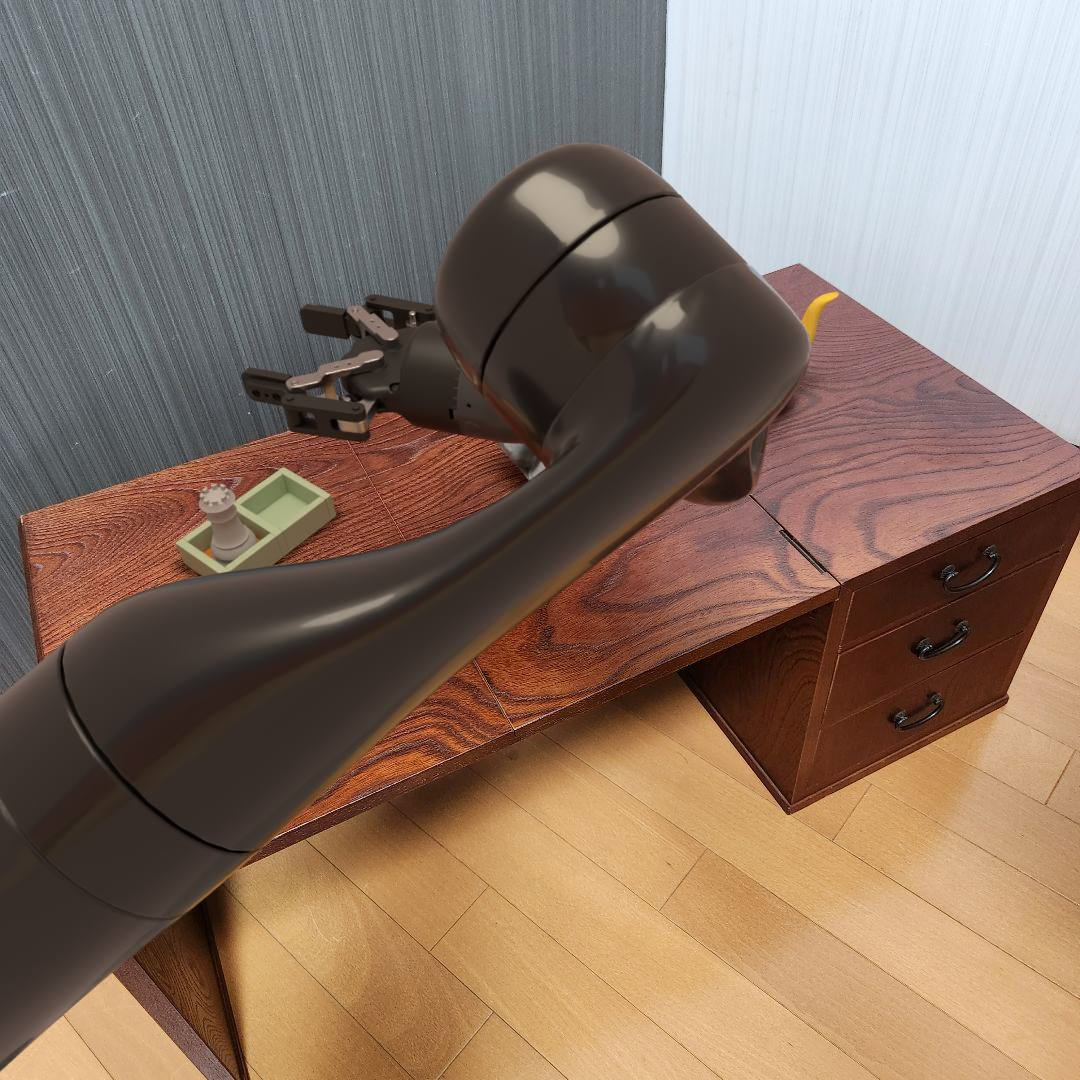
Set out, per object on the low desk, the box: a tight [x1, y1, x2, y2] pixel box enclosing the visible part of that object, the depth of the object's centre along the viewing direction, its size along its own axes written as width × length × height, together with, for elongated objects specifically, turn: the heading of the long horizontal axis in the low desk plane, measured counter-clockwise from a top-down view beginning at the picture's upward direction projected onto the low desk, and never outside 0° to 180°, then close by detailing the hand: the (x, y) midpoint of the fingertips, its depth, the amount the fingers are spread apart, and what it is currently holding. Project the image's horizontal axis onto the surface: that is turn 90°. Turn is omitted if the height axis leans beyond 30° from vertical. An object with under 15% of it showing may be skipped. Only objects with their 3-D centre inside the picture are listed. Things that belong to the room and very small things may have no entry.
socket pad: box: [175, 466, 337, 576], centre depth 91 cm, size 13×7×3 cm, turn 142°
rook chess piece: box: [198, 483, 258, 567], centre depth 87 cm, size 4×4×8 cm
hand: (275, 348), depth 69 cm, fingers open, 8 cm apart
